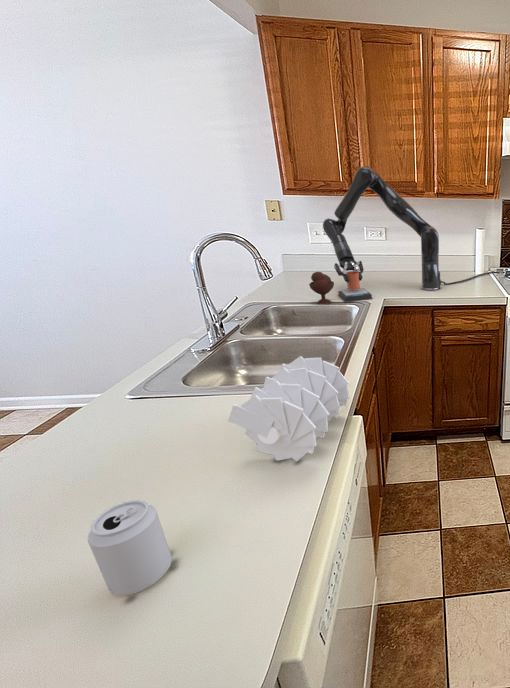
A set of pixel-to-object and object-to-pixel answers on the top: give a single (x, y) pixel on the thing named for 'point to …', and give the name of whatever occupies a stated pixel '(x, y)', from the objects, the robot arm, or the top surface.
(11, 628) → the top surface
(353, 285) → the cup
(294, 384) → the spiral staircase
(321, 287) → the ice cream bowl
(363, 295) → the scale
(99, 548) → the can
